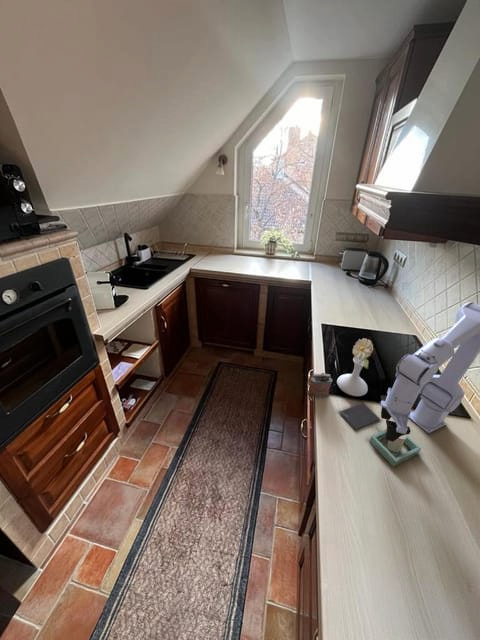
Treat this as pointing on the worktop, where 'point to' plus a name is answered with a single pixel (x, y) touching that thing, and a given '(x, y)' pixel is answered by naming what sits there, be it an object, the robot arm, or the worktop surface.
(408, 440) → the green rectangular frame
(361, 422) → the slate mat
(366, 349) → the flower in vase
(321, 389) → the lighter
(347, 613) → the worktop surface
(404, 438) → the shaving stick
